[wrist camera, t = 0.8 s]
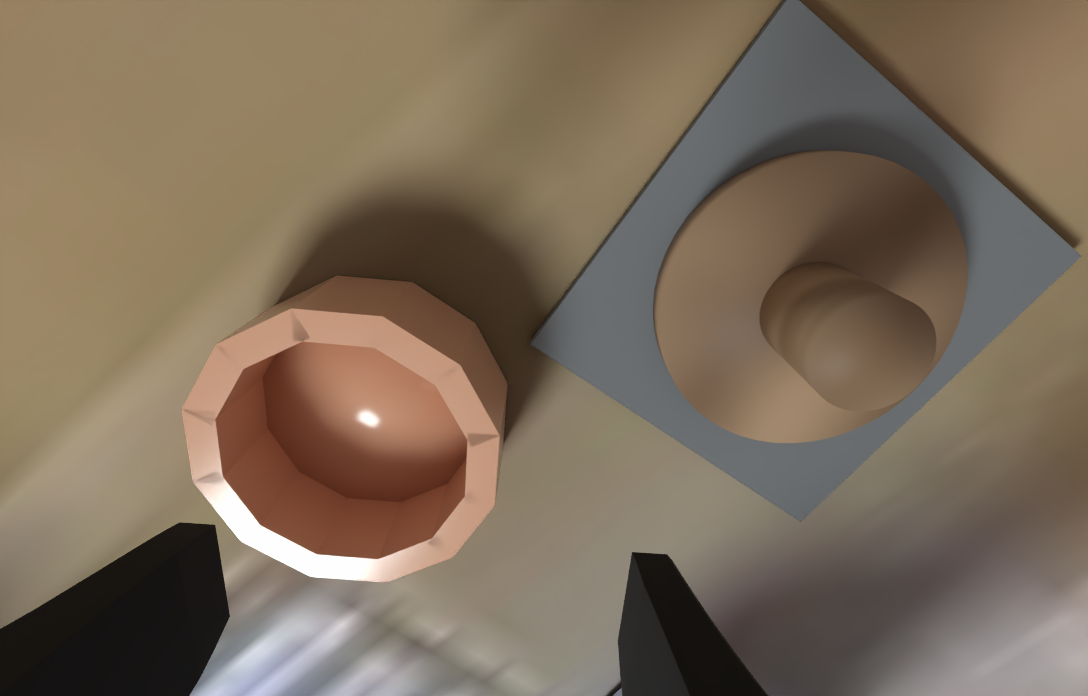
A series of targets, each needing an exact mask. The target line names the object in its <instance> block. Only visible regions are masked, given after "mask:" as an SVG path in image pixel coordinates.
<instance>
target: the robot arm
mask: <svg viewBox="0 0 1088 696" xmlns="http://www.w3.org/2000/svg"><path fill="white" fill-rule="evenodd" d="M229 617H230V614H229V608H228V602H227V596H226V590H225V583H224V577H223V571H222V565H221V559H220V552H219V546H218V540H217V534H216V528H215V525H209V524H194V523H178V524H176V525H174V526H172V527H171V528H169V529H167V530H165V531H163V532H162V533H160V534H158V535H156V536H155V537H153V538H151V539H150V540H148V541H146V542H145V543H143V544H141V545H140V546H138V547H136V548H135V549H133V550H132V551H130V552H128V553H127V554H125V555H123V556H122V557H120V558H118V559H117V560H115V561H114V562H112V563H110V564H109V565H107V566H105V567H104V568H102V569H101V570H99V571H97V572H96V573H94V574H92V575H91V576H89V577H87V578H86V579H84V580H83V581H81V582H79V583H78V584H76V585H74V586H73V587H71V588H69V589H68V590H66V591H64V592H63V593H61V594H59V595H58V596H56V597H55V598H53V599H51V600H50V601H48V602H46V603H45V604H43V605H41V606H40V607H38V608H36V609H35V610H33V611H31V612H29V613H28V614H26V615H24V616H22V617H21V618H19V619H17V620H15V621H14V622H12V623H10V624H8V625H7V626H5V627H3V628H1V629H0V696H189V695H190V693H191V692H192V690H193V688H194V687H195V685H196V684H197V682H198V680H199V679H200V677H201V675H202V673H203V671H204V669H205V667H206V665H207V663H208V661H209V659H210V657H211V655H212V653H213V651H214V649H215V647H216V645H217V643H218V640H219V638H220V636H221V634H222V632H223V630H224V628H225V625H226V623H227V621H228V619H229ZM618 648H619V662H620V676H621V688H620V689H619V690H618V691H617V692H616V693H615V694H614V695H613V696H768V695H767V694H766V692H765V691H764V690H763V689H762V687H761V686H760V685H759V684H758V682H757V681H756V680H755V678H754V677H753V676H752V675H751V673H750V672H749V671H748V669H747V668H746V667H745V665H744V664H743V663H742V661H741V660H740V659H739V657H738V656H737V655H736V653H735V652H734V650H733V649H732V648H731V646H730V645H729V644H728V642H727V641H726V640H725V638H724V637H723V636H722V634H721V633H720V631H719V630H718V629H717V627H716V626H715V624H714V623H713V621H712V620H711V619H710V617H709V616H708V614H707V613H706V611H705V610H704V608H703V607H702V605H701V604H700V602H699V601H698V599H697V598H696V596H695V595H694V593H693V592H692V590H691V589H690V587H689V586H688V584H687V583H686V581H685V580H684V578H683V577H682V575H681V573H680V572H679V570H678V569H677V567H676V566H675V564H674V563H673V561H672V560H671V559H670V557H669V556H668V555H667V554H652V553H636V552H632V556H631V563H630V569H629V575H628V581H627V588H626V594H625V600H624V606H623V612H622V619H621V625H620V631H619V637H618Z"/></svg>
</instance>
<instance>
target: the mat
mask: <svg viewBox="0 0 1088 696" xmlns="http://www.w3.org/2000/svg"><path fill="white" fill-rule="evenodd" d="M811 150H836V151H846V152H855V153H861V154H867V155H873V156H877V157H880V158H883V159H886V160H889V161H892V162H895V163H897V164H899V165H901V166H902V167H904V168H906V169H908V170H910V171H912V172H914V173H915V174H916V175H918V176H919V177H920V178H922V179H923V180H924V181H926V182H927V183H928V184H929V185H930V186H931V187H932V188H933V189H934V190H935V191H936V192H937V193H938V194H939V195H940V196H941V197H942V199H943V200H944V202H945V203H946V204H947V206H948V207H949V209H950V210H951V212H952V213H953V216H954V218H955V220H956V222H957V224H958V226H959V228H960V231H961V234H962V238H963V241H964V245H965V249H966V257H967V265H968V275H967V291H966V297H965V303H964V307H963V311H962V314H961V317H960V321H959V324H958V326H957V329H956V331H955V333H954V335H953V338H952V340H951V342H950V344H949V346H948V347H947V349H946V351H945V352H944V354H943V356H942V358H941V359H940V361H939V362H938V363H937V365H936V366H935V367H934V369H933V370H932V371H931V373H930V374H929V375H928V376H927V377H926V379H925V380H924V381H923V382H922V383H921V384H920V385H919V386H918V387H917V388H916V389H915V390H914V391H913V392H912V393H911V394H910V395H909V396H907V397H906V398H905V399H904V400H903V401H902V402H900V403H899V404H898V405H896V406H895V407H894V408H892V409H891V410H889V411H888V412H886V413H885V414H884V415H882V416H880V417H878V418H877V419H875V420H873V421H871V422H869V423H868V424H866V425H864V426H861V427H859V428H857V429H854V430H852V431H850V432H847V433H844V434H841V435H837V436H834V437H831V438H827V439H822V440H817V441H812V442H801V443H773V442H765V441H758V440H754V439H750V438H747V437H743V436H740V435H737V434H735V433H732V432H730V431H728V430H725V429H723V428H722V427H720V426H718V425H716V424H715V423H713V422H711V421H710V420H708V419H707V418H706V417H705V416H703V415H702V414H701V413H699V412H698V411H697V410H696V409H695V408H694V407H693V406H692V405H691V404H690V403H689V402H688V401H687V400H686V399H685V397H684V396H683V395H682V393H681V392H680V390H679V389H678V388H677V386H676V385H675V383H674V381H673V379H672V377H671V375H670V373H669V371H668V369H667V367H666V365H665V363H664V361H663V359H662V356H661V353H660V350H659V347H658V344H657V341H656V336H655V330H654V325H653V299H654V289H655V285H656V280H657V276H658V272H659V269H660V266H661V263H662V261H663V258H664V255H665V253H666V251H667V249H668V247H669V245H670V243H671V241H672V239H673V237H674V235H675V234H676V232H677V231H678V230H679V228H680V227H681V225H682V224H683V222H684V221H685V219H686V218H687V217H688V216H689V215H690V213H691V212H692V211H693V210H694V209H695V208H696V207H697V206H698V204H699V203H700V202H701V201H702V200H703V199H705V198H706V197H707V196H708V195H709V194H710V193H711V192H712V191H714V190H715V189H716V188H717V187H718V186H720V185H721V184H723V183H724V182H726V181H727V180H728V179H730V178H731V177H733V176H734V175H736V174H738V173H740V172H742V171H744V170H745V169H747V168H749V167H751V166H753V165H755V164H758V163H761V162H763V161H766V160H768V159H771V158H774V157H778V156H782V155H786V154H790V153H794V152H802V151H811ZM1080 257H1081V255H1080V254H1079V253H1078V252H1077V251H1076V250H1074V249H1073V248H1072V247H1071V246H1070V245H1069V244H1068V243H1067V242H1066V241H1065V240H1063V239H1062V238H1061V237H1060V236H1059V235H1058V234H1057V233H1056V232H1055V231H1054V230H1052V229H1051V228H1050V227H1049V226H1048V225H1047V224H1046V223H1045V222H1044V221H1042V220H1041V219H1040V218H1039V217H1038V216H1037V215H1036V214H1035V213H1034V212H1033V211H1031V210H1030V209H1029V208H1028V207H1027V206H1026V205H1025V204H1024V203H1023V202H1021V201H1020V200H1019V199H1018V198H1017V197H1016V196H1015V195H1014V194H1013V193H1012V192H1010V191H1009V190H1008V189H1007V188H1006V187H1005V186H1004V185H1003V184H1002V183H1001V182H999V181H998V180H997V179H996V178H995V177H994V176H993V175H992V174H991V173H989V172H988V171H987V170H986V169H985V168H984V167H983V166H982V165H981V164H980V163H978V162H977V161H976V160H975V159H974V158H973V157H972V156H971V155H970V154H969V153H967V152H966V151H965V150H964V149H963V148H962V147H961V146H960V145H959V144H957V143H956V142H955V141H954V140H953V139H952V138H951V137H950V136H949V135H948V134H946V133H945V132H944V131H943V130H942V129H941V128H940V127H939V126H938V125H937V124H935V123H934V122H933V121H932V120H931V119H930V118H929V117H928V116H927V115H925V114H924V113H923V112H922V111H921V110H920V109H919V108H918V107H917V106H916V105H914V104H913V103H912V102H911V101H910V100H909V99H908V98H907V97H906V96H905V95H903V94H902V93H901V92H900V91H899V90H898V89H897V88H896V87H895V86H893V85H892V84H891V83H890V82H889V81H888V80H887V79H886V78H885V77H884V76H882V75H881V74H880V73H879V72H878V71H877V70H876V69H875V68H874V67H872V66H871V65H870V64H869V63H868V62H867V61H866V60H865V59H864V58H863V57H861V56H860V55H859V54H858V53H857V52H856V51H855V50H854V49H853V48H852V47H850V46H849V45H848V44H847V43H846V42H845V41H844V40H843V39H842V38H840V37H839V36H838V35H837V34H836V33H835V32H834V31H833V30H832V29H831V28H829V27H828V26H827V25H826V24H825V23H824V22H823V21H822V20H821V19H820V18H818V17H817V16H816V15H815V14H814V13H813V12H812V11H811V10H810V9H808V8H807V7H806V6H805V5H804V4H803V3H802V2H801V1H800V0H783V1H782V2H781V4H780V5H779V7H778V8H777V9H776V11H775V12H774V13H773V15H772V16H771V17H770V19H769V20H768V21H767V23H766V24H765V25H764V27H763V28H762V29H761V31H760V32H759V33H758V35H757V36H756V37H755V39H754V40H753V42H752V43H751V44H750V46H749V47H748V48H747V50H746V51H745V52H744V54H743V55H742V56H741V58H740V59H739V60H738V62H737V63H736V64H735V66H734V67H733V68H732V70H731V71H730V72H729V74H728V75H727V77H726V78H725V79H724V81H723V82H722V83H721V85H720V86H719V87H718V89H717V90H716V91H715V93H714V94H713V95H712V97H711V98H710V99H709V101H708V102H707V103H706V105H705V106H704V108H703V109H702V110H701V112H700V113H699V114H698V116H697V117H696V118H695V120H694V121H693V122H692V124H691V125H690V126H689V128H688V129H687V130H686V132H685V133H684V134H683V136H682V137H681V138H680V140H679V141H678V143H677V144H676V145H675V147H674V148H673V149H672V151H671V152H670V153H669V155H668V156H667V157H666V159H665V160H664V161H663V163H662V164H661V165H660V167H659V168H658V169H657V171H656V172H655V173H654V175H653V176H652V178H651V179H650V180H649V182H648V183H647V184H646V186H645V187H644V188H643V190H642V191H641V192H640V194H639V195H638V196H637V198H636V199H635V200H634V202H633V203H632V204H631V206H630V207H629V209H628V210H627V211H626V213H625V214H624V215H623V217H622V218H621V219H620V221H619V222H618V223H617V225H616V226H615V227H614V229H613V230H612V231H611V233H610V234H609V235H608V237H607V238H606V239H605V241H604V242H603V244H602V245H601V246H600V248H599V249H598V250H597V252H596V253H595V254H594V256H593V257H592V258H591V260H590V261H589V262H588V264H587V265H586V266H585V268H584V269H583V270H582V272H581V273H580V274H579V276H578V277H577V279H576V280H575V281H574V283H573V284H572V285H571V287H570V288H569V289H568V291H567V292H566V293H565V295H564V296H563V297H562V299H561V300H560V301H559V303H558V304H557V305H556V307H555V308H554V310H553V311H552V312H551V314H550V315H549V316H548V318H547V319H546V320H545V322H544V323H543V324H542V326H541V327H540V328H539V330H538V331H537V332H536V334H535V335H534V336H533V338H532V339H531V343H530V345H532V346H533V347H535V348H536V349H538V350H539V351H541V352H543V353H544V354H546V355H547V356H549V357H550V358H552V359H553V360H555V361H556V362H558V363H559V364H561V365H562V366H564V367H565V368H567V369H568V370H570V371H572V372H573V373H575V374H576V375H578V376H579V377H581V378H582V379H584V380H585V381H587V382H588V383H590V384H591V385H593V386H594V387H596V388H597V389H599V390H601V391H602V392H604V393H605V394H607V395H608V396H610V397H611V398H613V399H614V400H616V401H617V402H619V403H620V404H622V405H623V406H625V407H626V408H628V409H630V410H631V411H633V412H634V413H636V414H637V415H639V416H640V417H642V418H643V419H645V420H646V421H648V422H649V423H651V424H652V425H654V426H655V427H657V428H658V429H660V430H662V431H663V432H665V433H666V434H668V435H669V436H671V437H672V438H674V439H675V440H677V441H678V442H680V443H681V444H683V445H684V446H686V447H687V448H689V449H691V450H692V451H694V452H695V453H697V454H698V455H700V456H701V457H703V458H704V459H706V460H707V461H709V462H710V463H712V464H713V465H715V466H716V467H718V468H720V469H721V470H723V471H724V472H726V473H727V474H729V475H730V476H732V477H733V478H735V479H736V480H738V481H739V482H741V483H742V484H744V485H745V486H747V487H749V488H750V489H752V490H753V491H755V492H756V493H758V494H759V495H761V496H762V497H764V498H765V499H767V500H768V501H770V502H771V503H773V504H774V505H776V506H778V507H779V508H781V509H782V510H784V511H785V512H787V513H788V514H790V515H791V516H793V517H794V518H796V519H797V520H799V521H800V522H801V521H802V520H803V519H804V518H805V517H806V516H807V515H808V514H809V513H810V512H811V511H813V510H814V509H815V508H816V507H817V506H818V505H819V504H820V503H821V502H822V501H823V500H824V499H825V498H826V497H827V496H828V495H829V494H831V493H832V492H833V491H834V490H835V489H836V488H837V487H838V486H839V485H840V484H841V483H842V482H843V481H844V480H845V479H846V478H847V477H848V476H850V475H851V474H852V473H853V472H854V471H855V470H856V469H857V468H858V467H859V466H860V465H861V464H862V463H863V462H864V461H865V460H866V459H868V458H869V457H870V456H871V455H872V454H873V453H874V452H875V451H876V450H877V449H878V448H879V447H880V446H881V445H882V444H883V443H884V442H886V441H887V440H888V439H889V438H890V437H891V436H892V435H893V434H894V433H895V432H896V431H897V430H898V429H899V428H900V427H901V426H902V425H903V424H905V423H906V422H907V421H908V420H909V419H910V418H911V417H912V416H913V415H914V414H915V413H916V412H917V411H918V410H919V409H920V408H921V407H923V406H924V405H925V404H926V403H927V402H928V401H929V400H930V399H931V398H932V397H933V396H934V395H935V394H936V393H937V392H938V391H939V390H940V389H942V388H943V387H944V386H945V385H946V384H947V383H948V382H949V381H950V380H951V379H952V378H953V377H954V376H955V375H956V374H957V373H958V372H960V371H961V370H962V369H963V368H964V367H965V366H966V365H967V364H968V363H969V362H970V361H971V360H972V359H973V358H974V357H975V356H976V355H977V354H979V353H980V352H981V351H982V350H983V349H984V348H985V347H986V346H987V345H988V344H989V343H990V342H991V341H992V340H993V339H994V338H995V337H997V336H998V335H999V334H1000V333H1001V332H1002V331H1003V330H1004V329H1005V328H1006V327H1007V326H1008V325H1009V324H1010V323H1011V322H1012V321H1013V320H1015V319H1016V318H1017V317H1018V316H1019V315H1020V314H1021V313H1022V312H1023V311H1024V310H1025V309H1026V308H1027V307H1028V306H1029V305H1030V304H1031V303H1032V302H1034V301H1035V300H1036V299H1037V298H1038V297H1039V296H1040V295H1041V294H1042V293H1043V292H1044V291H1045V290H1046V289H1047V288H1048V287H1049V286H1050V285H1052V284H1053V283H1054V282H1055V281H1056V280H1057V279H1058V278H1059V277H1060V276H1061V275H1062V274H1063V273H1064V272H1065V271H1066V270H1067V269H1068V268H1069V267H1071V266H1072V265H1073V264H1074V263H1075V262H1076V261H1077V260H1078V259H1079V258H1080Z"/></svg>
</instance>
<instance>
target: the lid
mask: <svg viewBox="0 0 1088 696" xmlns="http://www.w3.org/2000/svg"><path fill="white" fill-rule="evenodd" d="M967 275H968V265H967V257H966V249H965V245H964V241H963V238H962V234H961V231H960V228H959V226H958V224H957V222H956V220H955V218H954V216H953V213H952V212H951V210H950V209H949V207H948V206H947V204H946V203H945V202H944V200H943V199H942V197H941V196H940V195H939V194H938V193H937V192H936V191H935V190H934V189H933V188H932V187H931V186H930V185H929V184H928V183H927V182H926V181H924V180H923V179H922V178H920V177H919V176H918V175H916V174H915V173H914V172H912V171H910V170H908V169H906V168H904V167H902V166H901V165H899V164H897V163H895V162H892V161H889V160H886V159H883V158H880V157H877V156H873V155H867V154H861V153H855V152H846V151H836V150H811V151H802V152H794V153H790V154H786V155H782V156H778V157H774V158H771V159H768V160H766V161H763V162H761V163H758V164H755V165H753V166H751V167H749V168H747V169H745V170H744V171H742V172H740V173H738V174H736V175H734V176H733V177H731V178H730V179H728V180H727V181H726V182H724V183H723V184H721V185H720V186H718V187H717V188H716V189H715V190H714V191H712V192H711V193H710V194H709V195H708V196H707V197H706V198H705V199H703V200H702V201H701V202H700V203H699V204H698V206H697V207H696V208H695V209H694V210H693V211H692V212H691V213H690V215H689V216H688V217H687V218H686V219H685V221H684V222H683V224H682V225H681V227H680V228H679V230H678V231H677V232H676V234H675V235H674V237H673V239H672V241H671V243H670V245H669V247H668V249H667V251H666V253H665V255H664V258H663V261H662V263H661V266H660V269H659V272H658V276H657V280H656V285H655V289H654V299H653V325H654V330H655V336H656V341H657V344H658V347H659V350H660V353H661V356H662V359H663V361H664V363H665V365H666V367H667V369H668V371H669V373H670V375H671V377H672V379H673V381H674V383H675V385H676V386H677V388H678V389H679V390H680V392H681V393H682V395H683V396H684V397H685V399H686V400H687V401H688V402H689V403H690V404H691V405H692V406H693V407H694V408H695V409H696V410H697V411H698V412H699V413H701V414H702V415H703V416H705V417H706V418H707V419H708V420H710V421H711V422H713V423H715V424H716V425H718V426H720V427H722V428H723V429H725V430H728V431H730V432H732V433H735V434H737V435H740V436H743V437H747V438H750V439H754V440H758V441H765V442H773V443H801V442H812V441H817V440H822V439H827V438H831V437H834V436H837V435H841V434H844V433H847V432H850V431H852V430H854V429H857V428H859V427H861V426H864V425H866V424H868V423H869V422H871V421H873V420H875V419H877V418H878V417H880V416H882V415H884V414H885V413H886V412H888V411H889V410H891V409H892V408H894V407H895V406H896V405H898V404H899V403H900V402H902V401H903V400H904V399H905V398H906V397H907V396H909V395H910V394H911V393H912V392H913V391H914V390H915V389H916V388H917V387H918V386H919V385H920V384H921V383H922V382H923V381H924V380H925V379H926V377H927V376H928V375H929V374H930V373H931V371H932V370H933V369H934V367H935V366H936V365H937V363H938V362H939V361H940V359H941V358H942V356H943V354H944V352H945V351H946V349H947V347H948V346H949V344H950V342H951V340H952V338H953V335H954V333H955V331H956V329H957V326H958V324H959V321H960V317H961V314H962V311H963V307H964V303H965V297H966V291H967Z"/></svg>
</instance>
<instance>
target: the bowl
mask: <svg viewBox="0 0 1088 696" xmlns="http://www.w3.org/2000/svg"><path fill="white" fill-rule="evenodd" d="M507 388H508V383H507V381H506V379H505V377H504V375H503V374H502V372H501V370H500V368H499V366H498V364H497V362H496V360H495V359H494V357H493V355H492V353H491V351H490V349H489V347H488V346H487V344H486V342H485V340H484V338H483V336H482V334H481V332H480V331H479V329H478V327H477V325H476V323H475V322H473V321H472V320H470V319H468V318H467V317H465V316H464V315H462V314H461V313H459V312H458V311H456V310H455V309H453V308H451V307H450V306H448V305H447V304H445V303H444V302H442V301H441V300H439V299H438V298H436V297H435V296H433V295H431V294H430V293H428V292H427V291H425V290H424V289H422V288H421V287H419V286H418V285H416V284H415V283H413V282H406V281H394V280H383V279H372V278H360V277H349V276H338V275H337V276H335V277H333V278H331V279H328V280H326V281H324V282H322V283H320V284H318V285H316V286H314V287H312V288H310V289H308V290H306V291H304V292H302V293H299V294H297V295H295V296H293V297H291V298H289V299H287V300H285V301H283V302H281V303H279V304H277V305H275V306H273V307H271V308H270V309H268V310H267V311H265V312H264V313H262V314H261V315H259V316H258V317H256V318H255V319H253V320H252V321H250V322H249V323H247V324H246V325H244V326H243V327H241V328H240V329H238V330H237V331H235V332H234V333H232V334H231V335H229V336H228V337H226V338H225V339H223V340H222V341H220V342H219V343H217V344H216V345H215V347H214V349H213V351H212V353H211V355H210V357H209V359H208V361H207V362H206V364H205V366H204V368H203V370H202V372H201V374H200V376H199V378H198V379H197V381H196V383H195V385H194V387H193V389H192V391H191V393H190V395H189V396H188V398H187V400H186V402H185V404H184V406H183V408H182V415H183V421H184V428H185V434H186V441H187V447H188V453H189V460H190V466H191V473H192V479H193V482H194V484H195V485H196V486H197V487H198V489H199V490H200V491H201V492H202V493H203V495H204V496H205V497H206V498H207V500H208V501H209V502H210V503H211V505H212V506H213V507H214V508H215V510H216V511H217V512H218V513H219V515H220V516H221V517H222V518H223V520H224V521H225V522H226V523H227V525H228V526H229V527H230V528H231V530H232V531H233V532H234V533H235V535H236V536H237V537H238V538H239V540H240V541H241V542H243V543H245V544H247V545H249V546H251V547H253V548H255V549H257V550H259V551H261V552H263V553H265V554H267V555H269V556H271V557H273V558H275V559H277V560H279V561H281V562H283V563H285V564H287V565H289V566H291V567H292V568H294V569H296V570H298V571H300V572H302V573H304V574H306V575H308V576H310V577H321V578H334V579H348V580H361V581H374V582H389V581H391V580H394V579H397V578H399V577H402V576H405V575H407V574H410V573H413V572H415V571H418V570H421V569H423V568H426V567H429V566H431V565H434V564H436V563H439V562H442V561H444V560H447V559H450V558H453V556H454V555H455V554H456V553H457V551H458V550H459V549H460V548H461V546H462V545H463V544H464V543H465V541H466V540H467V539H468V538H469V537H470V535H471V534H472V533H473V532H474V530H475V529H476V528H477V527H478V525H479V524H480V523H481V522H482V520H483V519H484V518H485V517H486V516H487V514H488V513H489V512H490V511H491V509H492V508H493V507H494V506H495V501H496V494H497V487H498V480H499V473H500V465H501V458H502V451H503V443H504V429H505V415H506V402H507Z"/></svg>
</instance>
